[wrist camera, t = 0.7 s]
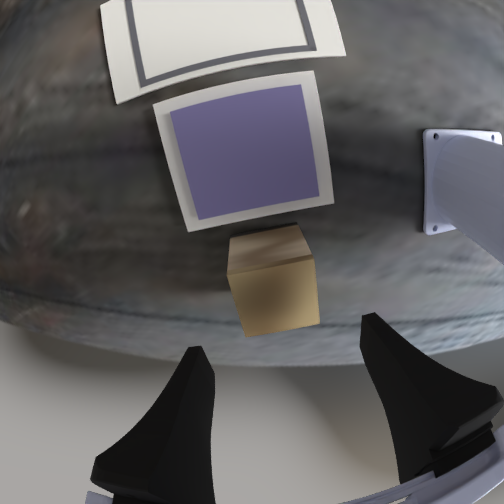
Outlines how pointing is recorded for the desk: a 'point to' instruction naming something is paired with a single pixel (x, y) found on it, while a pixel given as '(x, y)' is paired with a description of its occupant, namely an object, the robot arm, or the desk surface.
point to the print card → (209, 38)
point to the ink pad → (246, 149)
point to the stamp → (273, 280)
